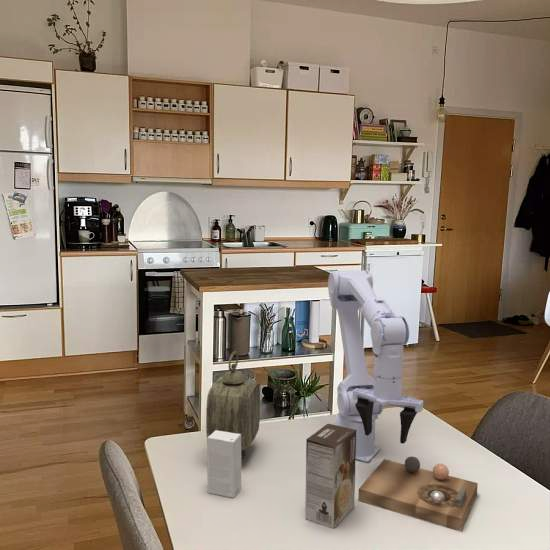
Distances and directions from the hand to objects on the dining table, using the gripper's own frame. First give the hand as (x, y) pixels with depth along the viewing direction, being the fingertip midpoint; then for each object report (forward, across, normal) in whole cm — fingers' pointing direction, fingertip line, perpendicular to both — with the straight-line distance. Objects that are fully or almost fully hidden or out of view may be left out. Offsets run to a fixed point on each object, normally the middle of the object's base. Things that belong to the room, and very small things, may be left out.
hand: (385, 437), depth 118 cm
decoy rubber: (+6, +5, +4) cm, 9 cm away
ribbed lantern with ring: (+10, -34, -6) cm, 36 cm away
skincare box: (+11, -27, -20) cm, 35 cm away
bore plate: (+10, +8, -1) cm, 13 cm away
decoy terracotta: (+6, +11, +4) cm, 13 cm away
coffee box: (+11, -5, -16) cm, 20 cm away
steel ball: (+9, +12, -3) cm, 15 cm away
